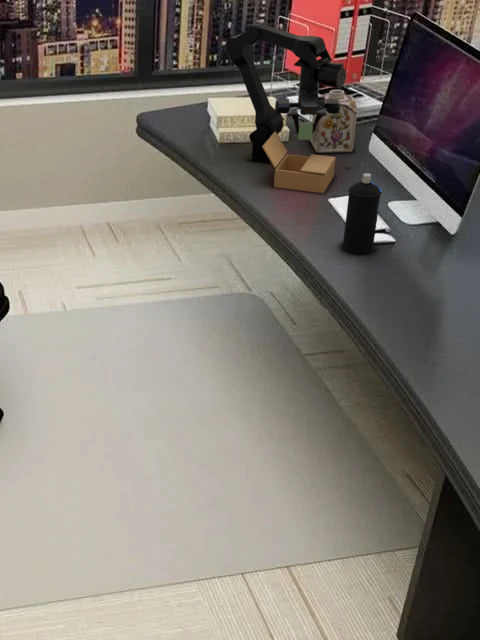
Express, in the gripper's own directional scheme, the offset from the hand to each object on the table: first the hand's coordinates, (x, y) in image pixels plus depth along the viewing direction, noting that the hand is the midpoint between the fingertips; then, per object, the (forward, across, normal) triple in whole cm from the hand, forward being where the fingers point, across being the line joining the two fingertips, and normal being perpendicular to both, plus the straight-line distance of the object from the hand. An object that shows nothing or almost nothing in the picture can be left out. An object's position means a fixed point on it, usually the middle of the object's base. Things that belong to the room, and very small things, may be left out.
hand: (304, 134), depth 303 cm
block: (+1, 0, 0) cm, 1 cm away
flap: (+1, -9, -9) cm, 13 cm away
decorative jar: (+11, +10, +19) cm, 24 cm away
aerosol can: (+11, +11, -57) cm, 59 cm away
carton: (+11, 0, -12) cm, 16 cm away
